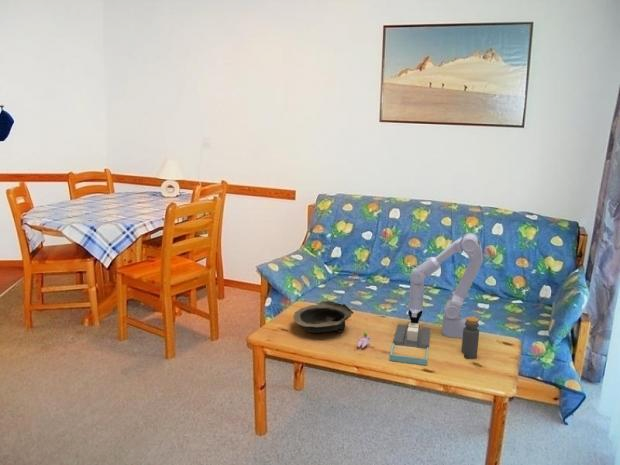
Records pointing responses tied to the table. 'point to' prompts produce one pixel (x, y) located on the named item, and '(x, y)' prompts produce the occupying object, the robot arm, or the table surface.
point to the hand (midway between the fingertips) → (414, 327)
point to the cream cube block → (414, 325)
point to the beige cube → (412, 334)
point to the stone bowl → (323, 317)
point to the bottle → (470, 338)
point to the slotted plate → (420, 343)
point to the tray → (408, 358)
